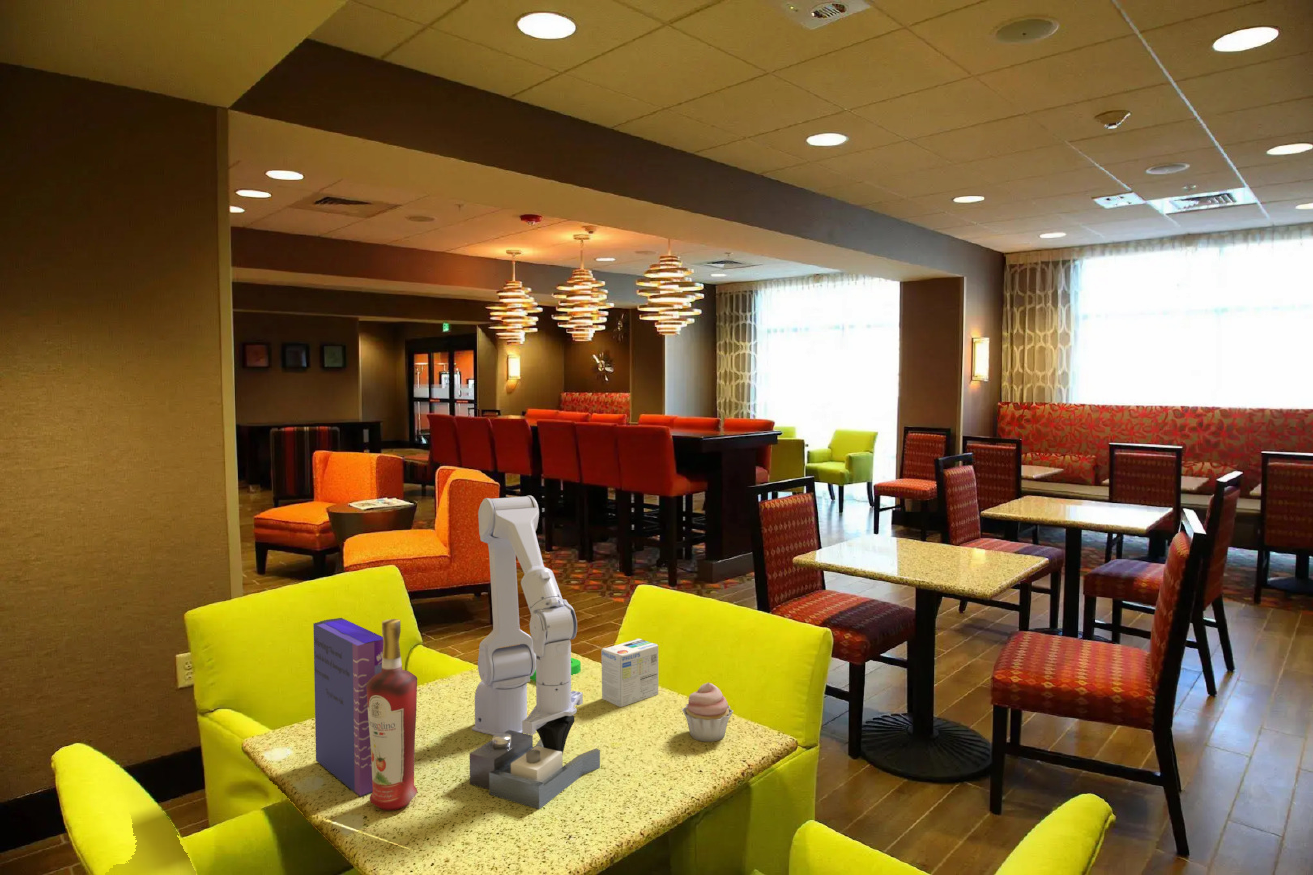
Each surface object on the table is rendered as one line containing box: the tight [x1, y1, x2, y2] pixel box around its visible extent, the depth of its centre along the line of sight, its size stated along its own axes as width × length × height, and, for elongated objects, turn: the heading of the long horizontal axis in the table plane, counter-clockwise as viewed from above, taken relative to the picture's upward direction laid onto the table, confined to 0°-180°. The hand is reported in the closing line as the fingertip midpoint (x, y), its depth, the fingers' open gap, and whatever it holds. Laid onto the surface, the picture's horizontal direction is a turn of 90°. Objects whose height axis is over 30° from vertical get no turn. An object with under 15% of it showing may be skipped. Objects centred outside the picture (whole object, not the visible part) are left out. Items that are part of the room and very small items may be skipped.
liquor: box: [366, 618, 418, 812], centre depth 115 cm, size 7×7×28 cm
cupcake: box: [681, 682, 734, 743], centre depth 139 cm, size 9×9×10 cm
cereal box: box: [313, 617, 384, 798], centre depth 125 cm, size 17×5×24 cm, turn 45°
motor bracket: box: [469, 730, 601, 810], centre depth 124 cm, size 16×16×6 cm
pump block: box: [511, 746, 563, 782], centre depth 121 cm, size 5×7×6 cm
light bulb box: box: [600, 638, 659, 708], centre depth 158 cm, size 11×7×11 cm, turn 133°
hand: (554, 760), depth 125 cm, fingers closed
